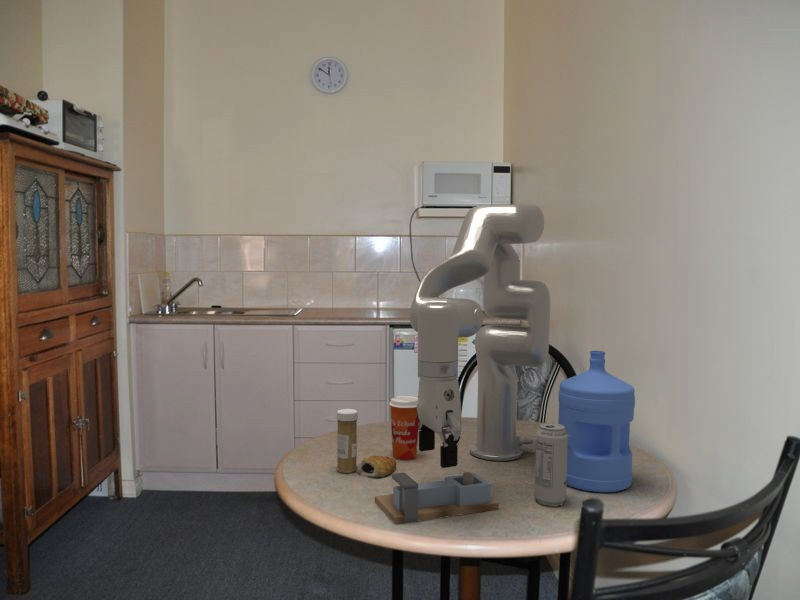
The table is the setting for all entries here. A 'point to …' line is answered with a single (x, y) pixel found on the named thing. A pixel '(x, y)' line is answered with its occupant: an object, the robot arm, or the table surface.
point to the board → (436, 511)
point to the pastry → (376, 466)
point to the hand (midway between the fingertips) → (437, 458)
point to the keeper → (408, 496)
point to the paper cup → (404, 427)
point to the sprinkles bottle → (347, 440)
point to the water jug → (597, 428)
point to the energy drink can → (551, 464)
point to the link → (448, 493)
